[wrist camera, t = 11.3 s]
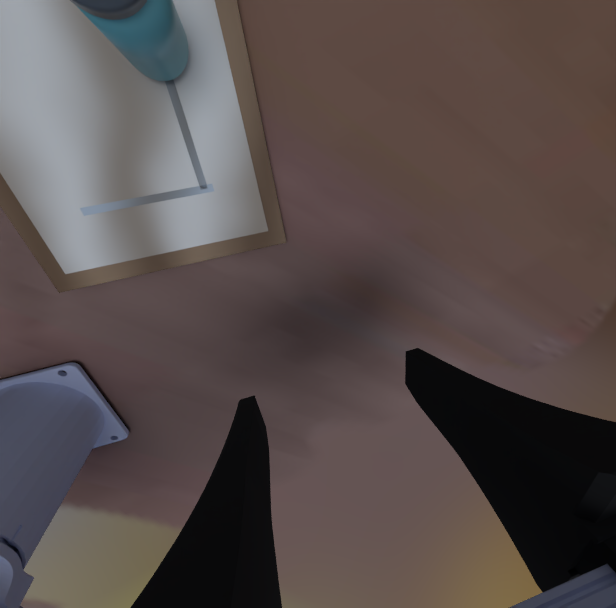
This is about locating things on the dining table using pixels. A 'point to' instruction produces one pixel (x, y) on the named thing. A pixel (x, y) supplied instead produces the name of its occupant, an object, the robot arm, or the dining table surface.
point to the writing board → (130, 146)
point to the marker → (142, 33)
